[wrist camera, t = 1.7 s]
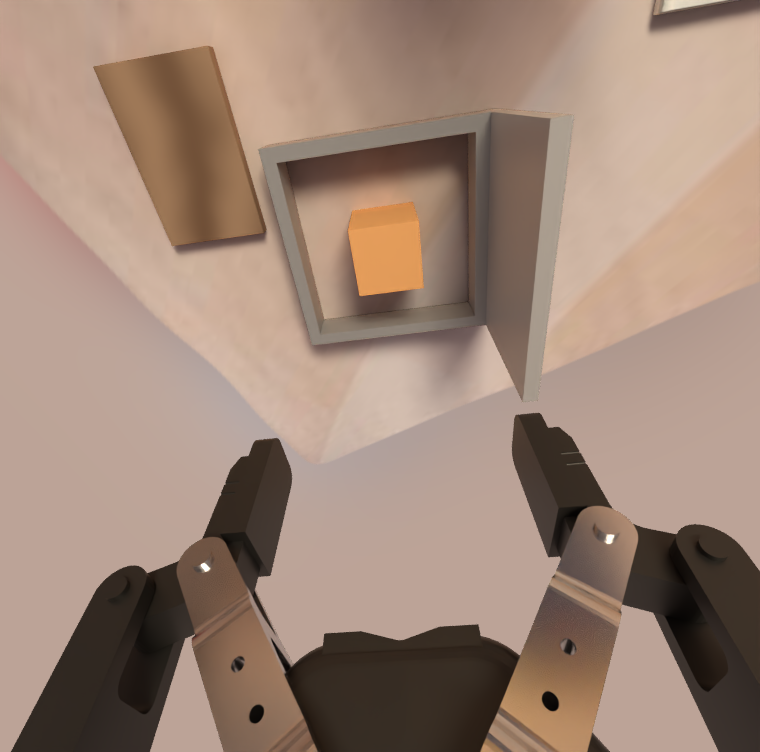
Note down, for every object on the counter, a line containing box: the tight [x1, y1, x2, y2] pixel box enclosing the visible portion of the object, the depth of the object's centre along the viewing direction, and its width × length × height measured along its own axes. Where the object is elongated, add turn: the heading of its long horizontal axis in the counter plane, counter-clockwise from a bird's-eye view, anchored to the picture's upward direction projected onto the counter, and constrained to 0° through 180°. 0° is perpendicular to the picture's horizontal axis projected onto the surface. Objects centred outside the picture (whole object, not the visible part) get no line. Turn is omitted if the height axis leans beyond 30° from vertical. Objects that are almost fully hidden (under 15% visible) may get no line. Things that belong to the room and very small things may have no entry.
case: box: [258, 108, 574, 402], centre depth 28 cm, size 17×16×14 cm
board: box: [93, 46, 267, 246], centre depth 30 cm, size 8×12×1 cm, turn 8°
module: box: [348, 202, 424, 296], centre depth 31 cm, size 5×5×6 cm
